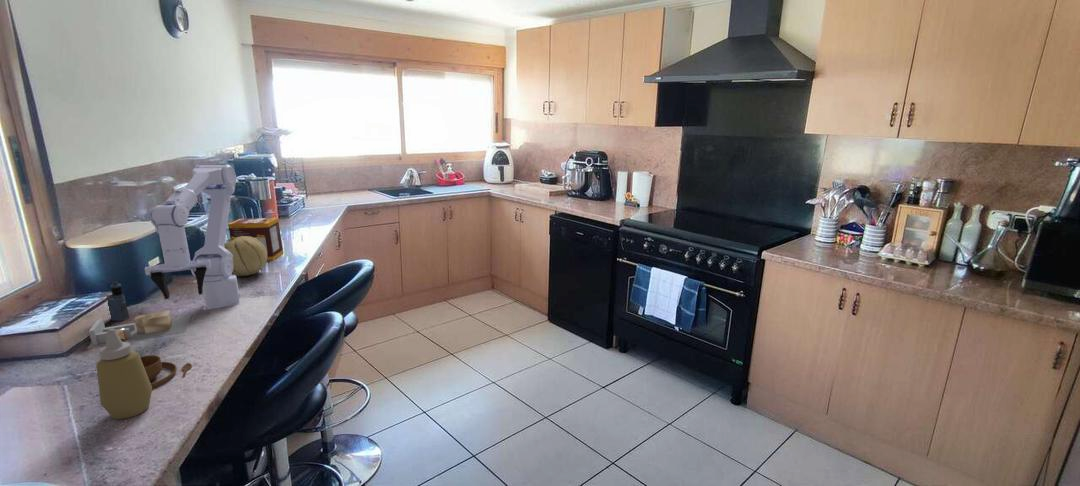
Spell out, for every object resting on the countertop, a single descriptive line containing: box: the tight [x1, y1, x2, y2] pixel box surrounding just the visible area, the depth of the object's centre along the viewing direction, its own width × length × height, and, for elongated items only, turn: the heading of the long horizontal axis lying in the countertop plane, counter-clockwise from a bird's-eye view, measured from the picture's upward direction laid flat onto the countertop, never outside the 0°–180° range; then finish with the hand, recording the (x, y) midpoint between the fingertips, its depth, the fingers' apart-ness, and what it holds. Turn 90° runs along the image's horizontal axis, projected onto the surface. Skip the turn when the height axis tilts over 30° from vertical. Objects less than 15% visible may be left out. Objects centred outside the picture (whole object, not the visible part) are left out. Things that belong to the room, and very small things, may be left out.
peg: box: [134, 310, 173, 334], centre depth 134 cm, size 8×4×4 cm, turn 119°
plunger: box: [115, 328, 126, 340], centre depth 129 cm, size 3×4×2 cm
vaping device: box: [105, 281, 130, 322], centre depth 140 cm, size 3×5×12 cm, turn 78°
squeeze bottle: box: [96, 329, 153, 420], centre depth 97 cm, size 8×8×18 cm
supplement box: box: [227, 217, 284, 261], centre depth 200 cm, size 10×15×16 cm
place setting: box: [121, 339, 193, 389], centre depth 114 cm, size 18×20×6 cm
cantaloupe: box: [224, 236, 268, 277], centre depth 179 cm, size 15×15×15 cm
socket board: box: [86, 315, 191, 350], centre depth 133 cm, size 20×12×5 cm, turn 119°
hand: (184, 295), depth 136 cm, fingers open, 7 cm apart
